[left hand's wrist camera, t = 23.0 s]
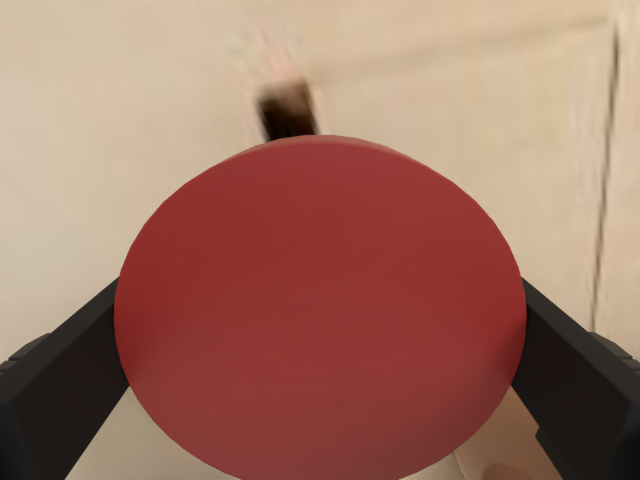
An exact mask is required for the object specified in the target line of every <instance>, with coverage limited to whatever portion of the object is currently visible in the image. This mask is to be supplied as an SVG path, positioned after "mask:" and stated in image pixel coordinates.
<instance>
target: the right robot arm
mask: <svg viewBox="0 0 640 480" xmlns="http://www.w3.org/2000/svg"><path fill="white" fill-rule="evenodd" d="M535 438H536V439H537V441H538V442H539V444H540V445H541V447H542V448H543V450H544V451H545V453H546V454H547V456H548V457H549V459H550V460H551V462H552V464H553V465H554V467H555V468H556V470H557V471H558V473H559V474H560V476H561V477H562V479H563V480H576V479H575V478H574V476H573V475H572V474H571V472H570V471H569V469H568V468H567V466H566V465H565V463H564V462H563V461H562V459H561V458H560V456H559V455H558V453H557V452H556V450H555V449H554V447H553V446H552V445H551V443H550V442H549V440H548V439H547V437H546V436H545V434H544V433H543V432H542V430H541V429H540V427H539V428H538V430H537V432H536V435H535Z"/></svg>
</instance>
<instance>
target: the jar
mask: <svg viewBox="0 0 640 480" xmlns="http://www.w3.org/2000/svg"><path fill="white" fill-rule="evenodd" d="M538 428H539V426H538V424H537V423H536V421H535V420H534V418H533V417H532V416H531V414H530V413H529V411H528V410H527V408H526V407H525V405H524V404H523V403H522V401H521V400H520V398H519V397H518V395H517V394H516V392H515V391H514V389H513V388H512V387H511V385H510V387H509V389H508V391H507V393H506V394H505V396H504V398H503V400H502V402H501V403H500V404H499V406H498V407H497V408H496V410H495V411H494V412H493V414H492V415H491V416H490V418H489V419H488V420H487V421H486V422H485V423H484V425H483V426H482V427H481V428H480V429H479V430H478V431H477V432H476V433H475V434H474V435H473V436H472V437H471V438H469V439H468V440H467V441H466V442H465V443H463V444H462V445H461V446H460V447H459V448H457V449H456V450H455V451H454V454H455V457H456V460H457V462H458V465H459V467H460V470H461V472H462V475H463V477H464V480H563V479H562V477H561V476H560V474H559V473H558V471H557V470H556V468H555V467H554V465H553V464H552V462H551V460H550V459H549V457H548V456H547V454H546V453H545V451H544V450H543V448H542V447H541V445H540V444H539V442H538V441H537V439H536V438H535V435H536V432H537V430H538Z"/></svg>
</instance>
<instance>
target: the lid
mask: <svg viewBox="0 0 640 480" xmlns="http://www.w3.org/2000/svg"><path fill="white" fill-rule="evenodd" d="M526 322H527V312H526V300H525V291H524V287H523V283H522V279H521V275H520V271H519V268H518V265H517V263H516V261H515V258H514V256H513V254H512V251H511V249H510V247H509V245H508V243H507V241H506V240H505V238H504V237H503V235H502V234H501V232H500V230H499V229H498V227H497V226H496V224H495V223H494V221H493V220H492V219H491V218H490V217H489V216H488V214H487V213H486V212H485V211H484V210H483V209H482V208H481V207H480V205H479V204H478V203H477V202H476V201H475V200H474V199H473V198H471V197H470V196H469V195H468V194H467V193H465V192H464V191H463V190H462V189H461V188H459V187H458V186H457V185H456V184H455V183H453V182H452V181H450V180H449V179H447V178H445V177H444V176H442V175H440V174H439V173H437V172H435V171H434V170H432V169H431V168H429V167H427V166H425V165H423V164H422V163H420V162H418V161H416V160H414V159H412V158H410V157H409V156H407V155H404V154H402V153H400V152H397V151H395V150H393V149H390V148H388V147H386V146H383V145H380V144H376V143H373V142H369V141H366V140H362V139H358V138H351V137H343V136H335V135H304V136H297V137H290V138H283V139H278V140H274V141H271V142H267V143H264V144H261V145H257V146H254V147H252V148H250V149H247V150H245V151H243V152H241V153H238V154H236V155H234V156H232V157H230V158H228V159H226V160H224V161H222V162H220V163H219V164H217V165H215V166H213V167H211V168H209V169H208V170H206V171H205V172H203V173H201V174H200V175H198V176H197V177H195V178H193V179H192V180H190V181H189V182H187V183H185V184H184V185H183V186H182V187H181V188H179V189H178V190H177V191H176V192H175V193H174V194H172V195H171V196H170V197H169V198H168V199H167V200H165V201H164V202H163V203H162V204H161V205H160V207H159V208H158V209H157V210H156V211H155V212H154V214H153V215H152V216H151V217H150V218H149V219H148V221H147V222H146V223H145V224H144V226H143V227H142V229H141V231H140V232H139V234H138V236H137V237H136V239H135V240H134V242H133V244H132V245H131V247H130V249H129V252H128V254H127V257H126V259H125V261H124V264H123V266H122V269H121V272H120V276H119V280H118V285H117V289H116V293H115V304H114V330H115V339H116V344H117V348H118V353H119V357H120V361H121V365H122V368H123V370H124V373H125V375H126V378H127V380H128V383H129V385H130V386H131V388H132V390H133V392H134V393H135V395H136V397H137V399H138V401H139V402H140V404H141V405H142V406H143V408H144V409H145V410H146V412H147V413H148V414H149V416H150V417H151V418H152V420H153V421H154V422H155V423H156V424H157V425H158V426H159V427H160V428H161V429H162V430H163V431H164V432H165V433H166V434H167V435H168V436H169V437H170V438H171V439H172V440H174V441H175V442H176V443H177V444H178V445H180V446H181V447H182V448H183V449H185V450H186V451H187V452H189V453H190V454H192V455H193V456H195V457H197V458H198V459H200V460H201V461H203V462H204V463H206V464H208V465H210V466H212V467H214V468H216V469H218V470H220V471H222V472H224V473H226V474H229V475H232V476H234V477H237V478H239V479H242V480H399V479H401V478H404V477H406V476H409V475H411V474H414V473H417V472H419V471H421V470H423V469H425V468H427V467H428V466H430V465H432V464H434V463H436V462H438V461H440V460H441V459H443V458H444V457H446V456H447V455H449V454H450V453H452V452H453V451H455V450H456V449H457V448H459V447H460V446H461V445H462V444H463V443H465V442H466V441H467V440H468V439H469V438H471V437H472V436H473V435H474V434H475V433H476V432H477V431H478V430H479V429H480V428H481V427H482V426H483V425H484V423H485V422H486V421H487V420H488V419H489V418H490V416H491V415H492V414H493V412H494V411H495V410H496V408H497V407H498V406H499V404H500V403H501V402H502V400H503V398H504V396H505V394H506V393H507V391H508V389H509V387H510V385H511V384H512V382H513V379H514V376H515V374H516V371H517V369H518V366H519V363H520V359H521V355H522V351H523V346H524V342H525V336H526Z"/></svg>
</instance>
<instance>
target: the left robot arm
mask: <svg viewBox="0 0 640 480" xmlns="http://www.w3.org/2000/svg"><path fill="white" fill-rule="evenodd" d="M521 279H522V283H523V287H524V291H525V300H526V312H527V322H526V336H525V342H524V346H523V351H522V355H521V359H520V363H519V366H518V369H517V371H516V374H515V376H514V379H513V382H512V384H511V387H512V388H513V389H514V391H515V392H516V394H517V395H518V397H519V398H520V400H521V401H522V403H523V404H524V405H525V407H526V408H527V410H528V411H529V413H530V414H531V416H532V417H533V418H534V420H535V421H536V423H537V424H538V426H539V427H540V429H541V430H542V432H543V433H544V434H545V436H546V437H547V439H548V440H549V442H550V443H551V445H552V446H553V447H554V449H555V450H556V452H557V453H558V455H559V456H560V458H561V459H562V461H563V462H564V463H565V465H566V466H567V468H568V469H569V471H570V472H571V474H572V475H573V476H574V478H575V479H576V480H640V363H639V362H638V361H637V360H633V359H632V356H631V355H629V354H628V353H627V352H626V351H624V350H623V349H622V348H620V347H619V346H618V345H617V344H615V343H614V342H612V341H610V340H608V339H606V338H604V337H602V336H600V335H598V334H596V333H594V332H587V331H586V330H585V329H584V328H583V327H581V326H580V325H579V324H578V323H577V322H575V321H574V320H573V319H572V318H570V317H569V316H568V315H567V314H566V313H564V312H563V311H562V310H561V309H560V308H558V307H557V306H556V305H555V304H554V303H552V302H551V301H550V300H549V299H548V298H546V297H545V296H544V295H543V294H542V293H540V292H539V291H538V290H537V289H536V288H534V287H533V286H532V285H531V284H530V283H528V282H527V281H526V280H525V279H524V278H522V277H521ZM118 280H119V277H118V278H117V279H115V280H114V281H113V282H112V283H111V284H109V285H108V286H107V287H106V288H105V289H103V290H102V291H101V292H100V293H99V294H97V295H96V296H95V297H94V298H93V299H91V300H90V301H89V302H88V303H87V304H85V305H84V306H83V307H82V308H81V309H79V310H78V311H77V312H76V313H75V314H73V315H72V316H71V317H70V318H69V319H67V320H66V321H65V322H64V323H63V324H61V325H60V326H59V327H58V328H57V329H55V330H54V331H53V332H52V333H47V334H45V335H43V336H41V337H39V338H37V339H35V340H33V341H31V342H30V343H28V344H26V345H24V346H23V347H22V348H21V349H19V350H18V351H17V352H16V353H14V354H13V355H12V356H11V357H9V360H8V361H4V362H3V363H2V364H1V365H0V480H65V478H66V477H67V475H68V474H69V472H70V471H71V470H72V468H73V467H74V465H75V464H76V462H77V461H78V459H79V458H80V457H81V455H82V454H83V452H84V451H85V449H86V448H87V446H88V445H89V443H90V442H91V441H92V439H93V438H94V436H95V435H96V433H97V432H98V430H99V429H100V428H101V426H102V425H103V423H104V422H105V420H106V419H107V417H108V416H109V414H110V413H111V412H112V410H113V409H114V407H115V406H116V404H117V403H118V401H119V400H120V399H121V397H122V396H123V394H124V393H125V391H126V390H127V388H128V387H129V383H128V380H127V378H126V375H125V373H124V370H123V368H122V365H121V361H120V357H119V353H118V348H117V344H116V339H115V330H114V304H115V293H116V289H117V285H118Z"/></svg>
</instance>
